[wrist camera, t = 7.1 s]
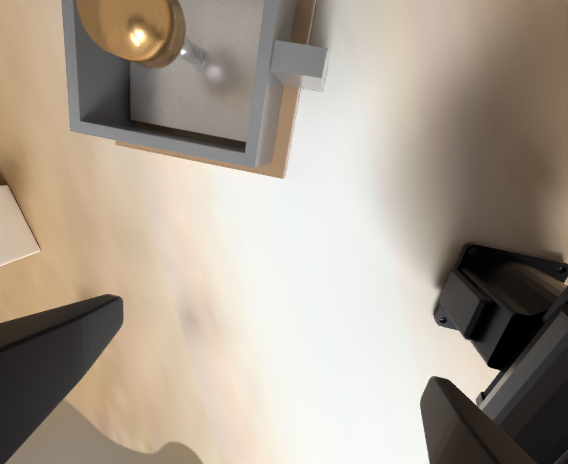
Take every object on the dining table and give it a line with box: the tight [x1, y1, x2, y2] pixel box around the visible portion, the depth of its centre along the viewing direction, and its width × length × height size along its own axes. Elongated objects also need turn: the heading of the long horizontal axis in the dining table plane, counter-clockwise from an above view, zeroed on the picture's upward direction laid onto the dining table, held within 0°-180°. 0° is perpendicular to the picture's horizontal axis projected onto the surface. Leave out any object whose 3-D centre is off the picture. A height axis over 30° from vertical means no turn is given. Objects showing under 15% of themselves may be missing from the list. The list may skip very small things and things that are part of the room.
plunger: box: [76, 0, 264, 142], centre depth 13 cm, size 8×8×7 cm
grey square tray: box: [62, 0, 328, 179], centre depth 15 cm, size 14×12×6 cm
